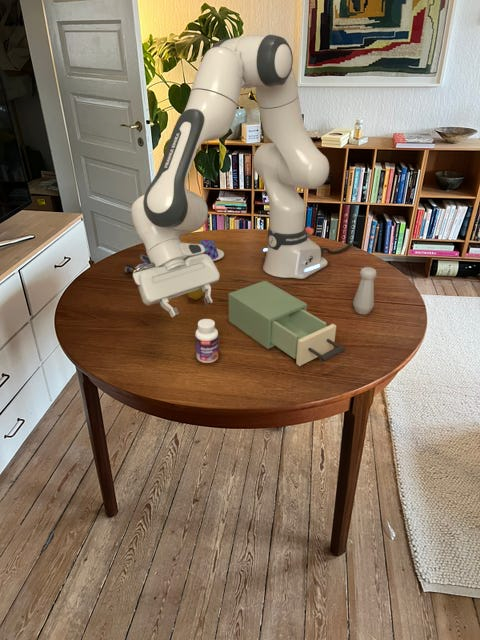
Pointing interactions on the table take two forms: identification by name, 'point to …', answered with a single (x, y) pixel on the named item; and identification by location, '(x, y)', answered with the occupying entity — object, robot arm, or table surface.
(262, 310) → the cabinet
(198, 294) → the lemon
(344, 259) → the table surface
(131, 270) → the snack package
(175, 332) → the table surface
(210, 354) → the pill bottle
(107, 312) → the table surface
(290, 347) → the drawer
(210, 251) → the pudding
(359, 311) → the salt shaker
